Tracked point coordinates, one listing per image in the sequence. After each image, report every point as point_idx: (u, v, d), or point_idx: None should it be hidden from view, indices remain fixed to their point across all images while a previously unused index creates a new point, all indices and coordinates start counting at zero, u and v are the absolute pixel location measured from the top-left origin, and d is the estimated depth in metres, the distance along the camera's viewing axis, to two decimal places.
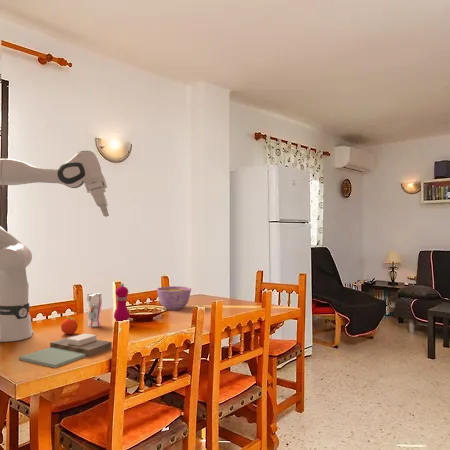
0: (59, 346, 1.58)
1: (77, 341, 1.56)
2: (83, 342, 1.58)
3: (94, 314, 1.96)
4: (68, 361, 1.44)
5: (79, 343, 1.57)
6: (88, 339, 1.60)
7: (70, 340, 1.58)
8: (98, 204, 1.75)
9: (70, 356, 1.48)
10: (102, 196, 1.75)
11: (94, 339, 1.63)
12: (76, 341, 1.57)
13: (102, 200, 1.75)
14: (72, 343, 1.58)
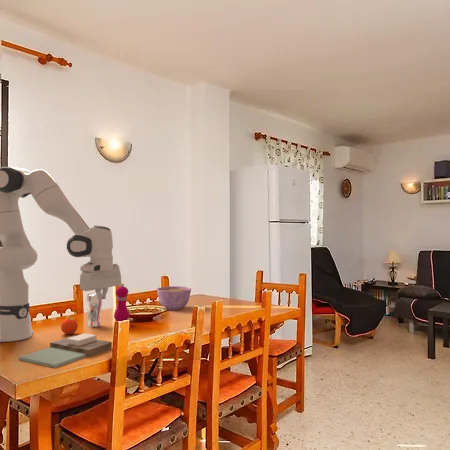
0: (59, 346, 1.58)
1: (77, 341, 1.56)
2: (83, 342, 1.58)
3: (94, 314, 1.96)
4: (68, 361, 1.44)
5: (79, 343, 1.57)
6: (88, 339, 1.60)
7: (70, 340, 1.58)
8: (81, 289, 1.62)
9: (70, 356, 1.48)
10: (86, 282, 1.61)
11: (94, 339, 1.63)
12: (76, 341, 1.57)
13: (84, 287, 1.61)
14: (72, 343, 1.58)
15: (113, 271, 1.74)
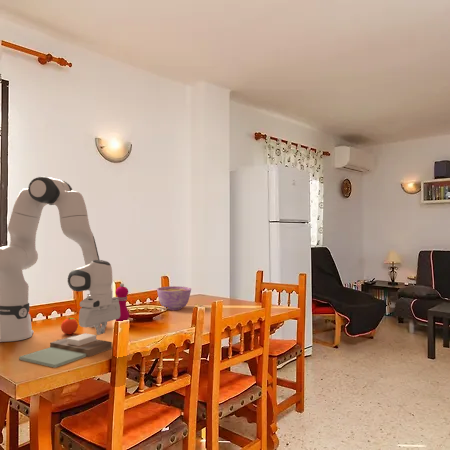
0: (59, 346, 1.58)
1: (77, 341, 1.56)
2: (83, 342, 1.58)
3: None
4: (68, 361, 1.44)
5: (79, 343, 1.57)
6: (88, 339, 1.60)
7: (70, 340, 1.58)
8: (80, 325, 1.62)
9: (70, 356, 1.48)
10: (85, 319, 1.61)
11: (94, 339, 1.63)
12: (76, 341, 1.57)
13: (83, 323, 1.61)
14: (72, 343, 1.58)
15: (112, 305, 1.74)
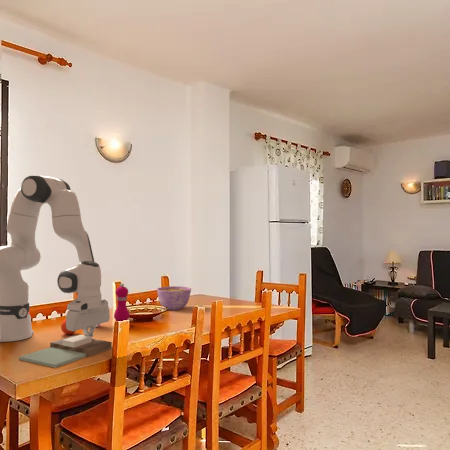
0: (59, 346, 1.58)
1: (72, 343, 1.54)
2: (78, 344, 1.56)
3: None
4: (68, 361, 1.44)
5: (74, 345, 1.54)
6: (84, 340, 1.58)
7: (65, 342, 1.56)
8: (67, 329, 1.57)
9: (70, 356, 1.48)
10: (72, 322, 1.55)
11: (90, 340, 1.61)
12: (71, 343, 1.55)
13: (71, 327, 1.55)
14: (67, 345, 1.55)
15: (101, 308, 1.68)
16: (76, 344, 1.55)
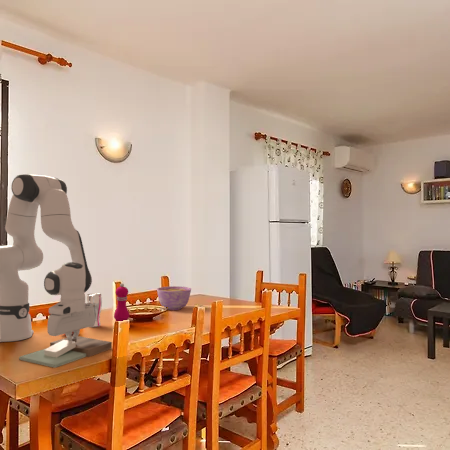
0: None
1: (54, 353, 1.47)
2: (61, 353, 1.49)
3: None
4: (68, 361, 1.44)
5: (56, 355, 1.47)
6: (66, 348, 1.51)
7: (47, 352, 1.48)
8: (49, 334, 1.49)
9: (70, 356, 1.48)
10: (54, 327, 1.48)
11: (73, 346, 1.54)
12: (53, 353, 1.47)
13: (52, 331, 1.48)
14: (49, 355, 1.48)
15: (86, 311, 1.61)
16: (58, 354, 1.48)
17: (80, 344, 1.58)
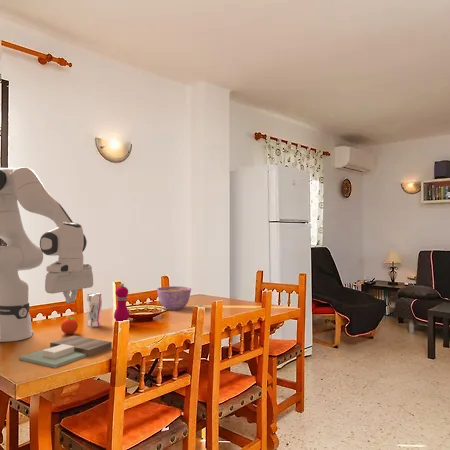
0: None
1: (53, 353, 1.46)
2: (59, 354, 1.48)
3: (94, 314, 1.96)
4: (68, 361, 1.44)
5: (55, 355, 1.46)
6: (65, 351, 1.50)
7: (45, 352, 1.48)
8: (46, 291, 1.48)
9: (70, 356, 1.48)
10: (51, 284, 1.47)
11: (72, 350, 1.53)
12: (52, 353, 1.46)
13: (50, 289, 1.47)
14: (47, 355, 1.47)
15: (84, 272, 1.60)
16: (57, 355, 1.47)
17: (80, 344, 1.58)
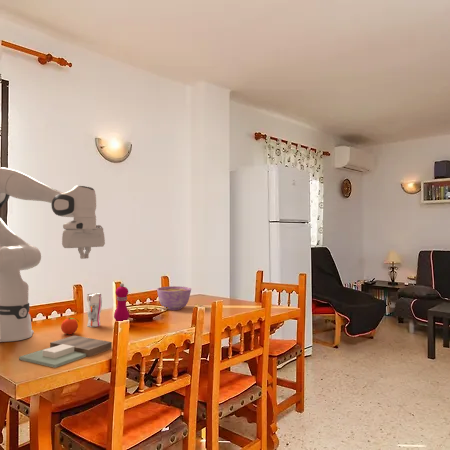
0: None
1: (53, 353, 1.46)
2: (59, 354, 1.48)
3: (94, 314, 1.96)
4: (68, 361, 1.44)
5: (55, 355, 1.46)
6: (65, 351, 1.50)
7: (45, 352, 1.48)
8: (63, 246, 1.63)
9: (70, 356, 1.48)
10: (68, 239, 1.62)
11: (72, 350, 1.53)
12: (52, 353, 1.46)
13: (67, 243, 1.62)
14: (47, 355, 1.47)
15: (96, 231, 1.75)
16: (57, 355, 1.47)
17: (80, 344, 1.58)
